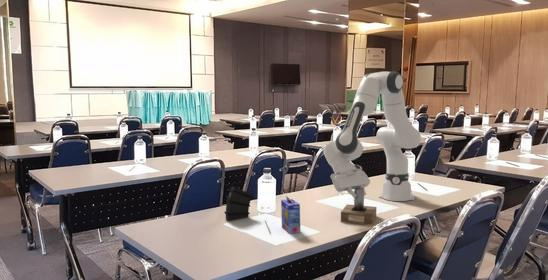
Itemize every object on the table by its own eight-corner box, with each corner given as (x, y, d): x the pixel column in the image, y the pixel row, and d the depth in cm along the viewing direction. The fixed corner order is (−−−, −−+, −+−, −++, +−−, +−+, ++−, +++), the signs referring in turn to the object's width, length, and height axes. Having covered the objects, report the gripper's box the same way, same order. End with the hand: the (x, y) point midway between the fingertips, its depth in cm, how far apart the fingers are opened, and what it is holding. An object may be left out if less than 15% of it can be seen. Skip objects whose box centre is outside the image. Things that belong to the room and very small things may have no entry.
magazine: (218, 216, 208) (230, 186, 210) (241, 224, 215) (253, 194, 217) (222, 218, 205) (234, 187, 207) (245, 226, 212) (257, 196, 213)
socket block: (346, 213, 218) (346, 204, 217) (376, 216, 213) (376, 206, 212) (340, 221, 204) (340, 212, 204) (372, 224, 199) (372, 215, 199)
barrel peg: (354, 210, 211) (355, 187, 210) (364, 211, 209) (364, 188, 208) (353, 213, 207) (353, 189, 206) (362, 214, 205) (363, 190, 204)
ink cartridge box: (280, 226, 198) (280, 194, 196) (292, 225, 199) (292, 193, 198) (288, 233, 188) (288, 199, 187) (300, 232, 190) (300, 198, 188)
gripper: (332, 170, 205) (347, 195, 199) (363, 165, 217) (378, 189, 211) (325, 178, 209) (340, 203, 203) (355, 173, 222) (370, 196, 215)
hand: (360, 195), depth 207 cm, fingers closed on barrel peg, 4 cm apart
